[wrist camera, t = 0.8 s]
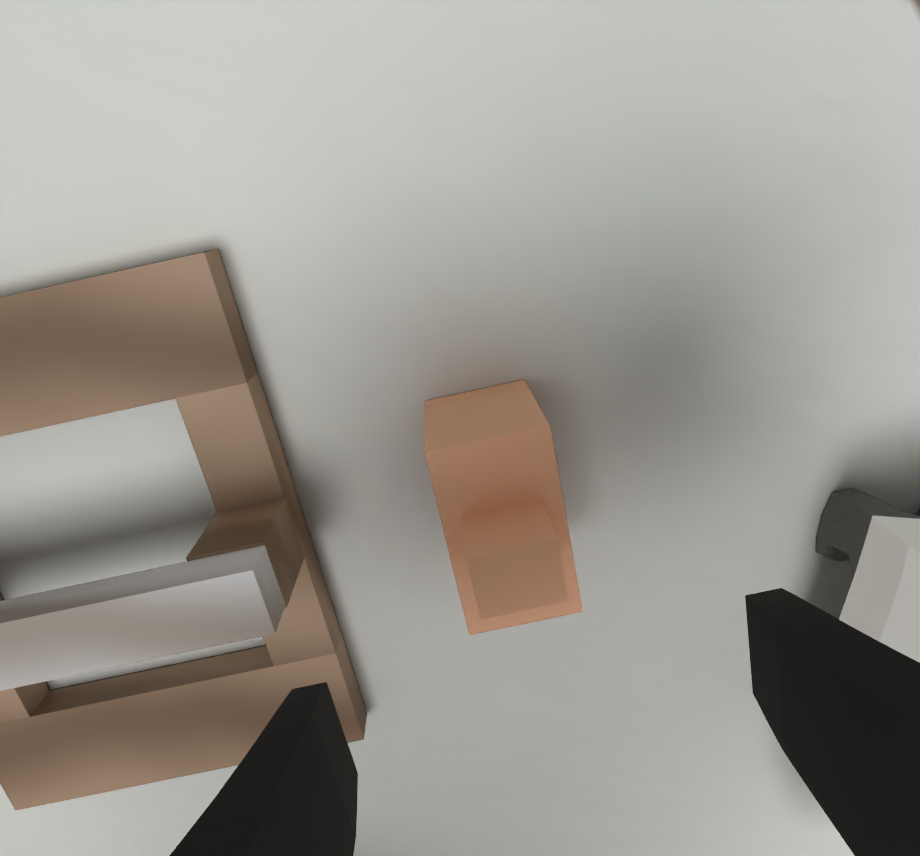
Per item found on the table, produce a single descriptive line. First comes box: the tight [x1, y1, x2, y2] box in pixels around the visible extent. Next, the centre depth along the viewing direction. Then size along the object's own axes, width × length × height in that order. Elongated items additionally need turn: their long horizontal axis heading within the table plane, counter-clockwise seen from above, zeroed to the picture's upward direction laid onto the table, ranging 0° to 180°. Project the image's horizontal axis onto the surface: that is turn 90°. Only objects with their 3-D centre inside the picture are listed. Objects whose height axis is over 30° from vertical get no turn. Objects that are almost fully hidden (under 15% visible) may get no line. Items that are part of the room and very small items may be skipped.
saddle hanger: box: [425, 379, 583, 635], centre depth 17 cm, size 5×3×6 cm, turn 12°
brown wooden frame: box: [0, 249, 367, 810], centre depth 18 cm, size 16×12×5 cm
